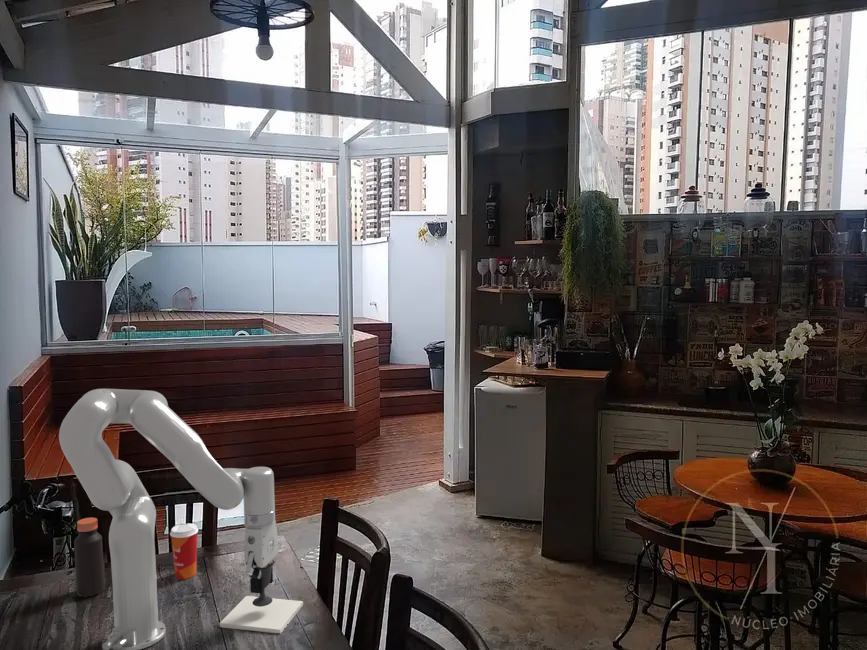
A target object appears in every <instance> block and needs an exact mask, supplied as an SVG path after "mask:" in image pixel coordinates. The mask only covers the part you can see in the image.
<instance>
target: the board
mask: <svg viewBox="0 0 867 650" xmlns="http://www.w3.org/2000/svg"><path fill="white" fill-rule="evenodd" d="M258 597H259V596H253V595H245V597H243V598H242V599H241V601H240V602H239V603H238V604H236V606H235V607H234V608H232V610H231V611H230V612H229V613H228V614H227V615H226V616H225V617H224V618H223V619H222V620H221V621H220V622H219V628H224V629H225V628H226V629H236V630H242V631H243V630H244V631H255V632H263V633H271V634H279V633H280V634H282V632H283V631H284V630H285V629H284V628H286V627H287V626H288V625H289V623H290V622H291V621H292V620H293V619H294V617H295V616H296V615H297V613H298V612H299V611H300V610H301V608H302V607H303V606H304V601H302V600H294V599H293V600H292V599H283V598H274V597H271V598H272V602H271V603H270V604H269V605H266V606H262V607H258V606H254V605H253V603H252V602H253V601H254V599H256V598H258ZM287 624H288V625H287Z"/></svg>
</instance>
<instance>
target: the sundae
mask: <svg viewBox="0 0 867 650" xmlns="http://www.w3.org/2000/svg"><path fill="white" fill-rule="evenodd" d="M254 564H256V563H254ZM274 564H275V560H274V559H273V560H271V561H270V562H269V563H268V564H267V565H266V566H265V567H263V568H261V570H262V575H261V577H263V593H262V594H260V593H259V596H257V597H258V598H256V599H254V601H253V602H252V603H253V605H254V606H258V607H262V606H266V605H269V604H270V603H271V602H272V598H273V597H270V596H266V594H265V591H266V590H265V589H266V588H268V586H269V585H270V584H271V583H270V579H271V570H272V567H273V566H274ZM256 565H257V564H256ZM272 565H273V566H272ZM253 570H256V571H257V572H258V568H253Z"/></svg>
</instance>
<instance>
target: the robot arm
mask: <svg viewBox="0 0 867 650" xmlns="http://www.w3.org/2000/svg"><path fill="white" fill-rule="evenodd" d="M110 424H128V425H129V424H130V425H131V426H132V427H133V429H135V430H136V431H137V432H138V433H139V434H140V435H142V437H144V438H145V439H146V440H147V441H148V442H149V443H150V444H151V445H153V447H155V448H156V449H157V450H158V451H159V452H160V453H161V454H163V456H164V457H166V458H167V459H168V460H169V462H170V463H172V465H173V466H174V467H175V468H176V469H177V470H178V472H179V473H180V474H181V475H182V476H183V477H184V478H185V479H186V480H187V481H188V483H190V485H191V486H192V487H193V488H194V489H195V490H196V491H197V492H198V493H199V494H200V495H201V496H203V497H204V498H205V499H206V500H207V501H208V502H209V503H210V504H212V505H213V506H214V507H216V508H218V509H219V510H223V511H231V510H233V509H235V508H237V507H238V506H239V505H240V504H241V503H242V501H243V519H244V520H243V523H244V527H245V531H244V562H245V567H246V568H245V572H244V573H245V574H247V575H248V578H249V582H250V593H253V594H259V595H260V594H262V593H263V577H261V575H262V570H261V568H263V567H265V566H266V565H267V564H268V563H269V562H270V561H271V560H274V558H275V557H276V556H277V555H278V554H279V539H278V538H279V536H278V528H277V522H276V505H275V501H276V500H275V499H276V498H275V477H274V476H275V474H274V471H273V470H272V468H270V467H268V466H253V467H250V468H234V467H226V468H225V467H224V468H223V467H222V466H221V465H220V464H219V463H218V462H217V461H216V459H214V457H213V456H212V454H211V453H210V451H209V450H208V449H207V447H206V445H205V443H204V441H203V439H202V438H201V437H200V435H199V434H198V433H197V432H196V431H195V430H194V429H193V428H192V427H191V426H189V425H188V424H187V423H186V422H185V421H184V420H183V419H182V418H181V417H180V416H179V415H178V414H177V413H176V412H174V410H173V409H171V408H170V407H169V404H168V400H167V399H166V397H165V396H164V395H163V394H162V393H160V392H158V391H155V390H146V389H143V390H142V389H123V388H122V389H120V388H96V389H92V390H89V391H88V392H86V393H85V394H84V395H82V397H80V398H79V399H78V400H77V402H76V403H74V405H73V406H72V407H71V408H70V410H69V411H68V412H67V414H66V415H65V417H64V418H63V420H62V422H61V425H60V428H59V431H58V440H59V445H60V448H61V451H62V452H63V455H64V457H65V458H66V460H67V462H68V463H69V465H70V466H71V469H72V470H73V472H74V474H75V476H76V477H77V479H78V481H79V483H80V485H81V486H82V488H83V490H84V491H85V492H86V494H87V495H86V496H87V497H88V498H89V500H90V502H91V503H92V505H93V506H95V508H97V509H99V510H101V511H106V512H109V513H110V515H111V516H112V520H111V523H110V525H109V530H108V546H109V547H108V548H109V553H110V562H111V563H110V564H111V580H112V581H111V582H112V583H111V584H112V602H113V619H114V620H113V621H114V622H113V624H114V627H113V628H112V629H111V631H112V632H110V634H109V635H108V637H107V640H106V641H105V642H103V643H102V644H101V646H102V647H101V648H102V649H103V650H142V649H146V648H148V647H149V648H150V647H151V646H153V645H155V644H157V643H159V642H160V641H161V640H162V639H163V638H164V636H165V635H166V625H165V623H164V622H162V620H159V608H158V604H159V603H158V585H157V584H158V583H157V566H156V565H157V564H156V563H157V562H156V561H157V560H156V546H155V526H156V519H157V511H156V506H155V503H154V502H153V500H152V497H150V495H149V493H148V491H147V489H146V488H145V486H144V485H143V483H142V481H141V479H140V477H139V476H138V474H137V472H136V471H135V469H134V468H133V467H132V466H131V465H130V464H129V463H128V462H126V461H123V460H121V459H116V458H115V456H114V455H113V453H112V451H111V449H110V447H109V446H108V444H107V443H106V441H104V439H103V431H104V430H105V429H106V428H107V427H108V426H109V425H110ZM254 563H256V564H257V565H256V564H254ZM273 566H274V564H273V565H272V570H271V579H270V583H269V584H272V583H273V582H274V572H273V570H274V569H273ZM253 568H258V572H257V571H256V570H253Z"/></svg>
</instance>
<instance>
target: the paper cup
mask: <svg viewBox="0 0 867 650" xmlns="http://www.w3.org/2000/svg"><path fill="white" fill-rule="evenodd" d="M198 532H199V529H198V526H197V525H196V524H195V523H182V524H178V525H174V526H173V527H172V528H171V530H170V532H169V535H170V538H171V547H172V557H173V565H174V566H173V567H174V568H173V569H174V574H175V578H176V579H177V578H178V580H187V579H190V578H191V579H192V578H194V577H195V576H196V575H197V561H198V560H197V557H198V556H197V555H198Z"/></svg>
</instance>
